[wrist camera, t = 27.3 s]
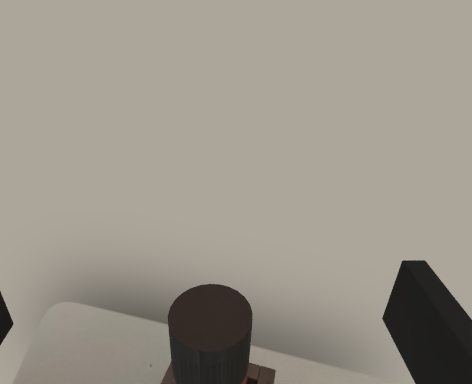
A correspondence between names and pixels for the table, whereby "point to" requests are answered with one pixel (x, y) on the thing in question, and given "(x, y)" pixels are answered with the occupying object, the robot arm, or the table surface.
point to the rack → (258, 378)
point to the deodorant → (210, 336)
